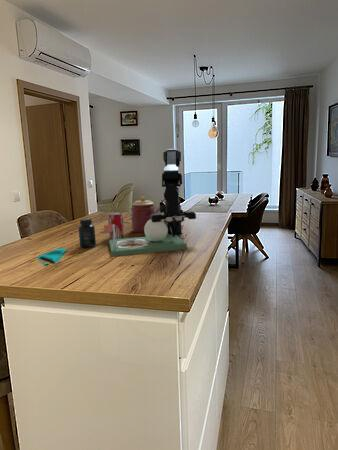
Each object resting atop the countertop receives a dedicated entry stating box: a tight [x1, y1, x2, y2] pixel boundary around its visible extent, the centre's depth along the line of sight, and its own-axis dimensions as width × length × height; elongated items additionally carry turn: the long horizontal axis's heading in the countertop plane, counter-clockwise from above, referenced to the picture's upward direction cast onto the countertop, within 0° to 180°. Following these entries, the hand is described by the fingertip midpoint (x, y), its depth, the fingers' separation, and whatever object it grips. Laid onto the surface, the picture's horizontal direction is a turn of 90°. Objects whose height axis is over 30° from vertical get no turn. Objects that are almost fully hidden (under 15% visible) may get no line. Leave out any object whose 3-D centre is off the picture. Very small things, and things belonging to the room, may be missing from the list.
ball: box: [144, 219, 168, 242], centre depth 141 cm, size 10×10×10 cm
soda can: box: [107, 211, 125, 240], centre depth 158 cm, size 7×7×12 cm
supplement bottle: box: [77, 218, 97, 249], centre depth 144 cm, size 7×7×12 cm
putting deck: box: [103, 224, 188, 257], centre depth 141 cm, size 32×20×12 cm, turn 103°
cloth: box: [36, 247, 68, 267], centre depth 132 cm, size 26×14×2 cm, turn 172°
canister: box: [130, 196, 157, 234], centre depth 173 cm, size 13×13×18 cm
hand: (173, 236), depth 143 cm, fingers closed
